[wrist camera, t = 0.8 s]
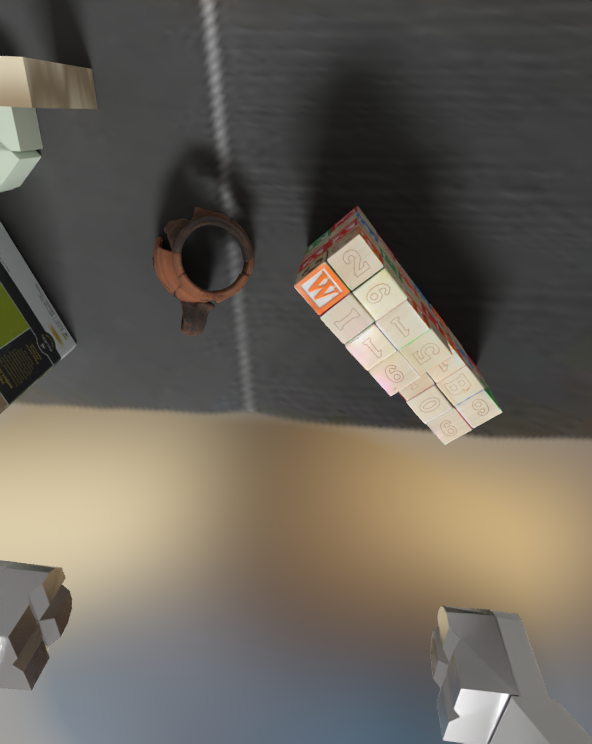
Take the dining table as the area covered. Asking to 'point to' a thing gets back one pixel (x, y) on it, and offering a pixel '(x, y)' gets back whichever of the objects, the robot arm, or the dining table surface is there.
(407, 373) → the stack of blocks
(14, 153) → the sage ring
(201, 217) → the pottery mug
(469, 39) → the dining table surface
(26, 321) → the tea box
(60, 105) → the wooden block
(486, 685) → the robot arm
